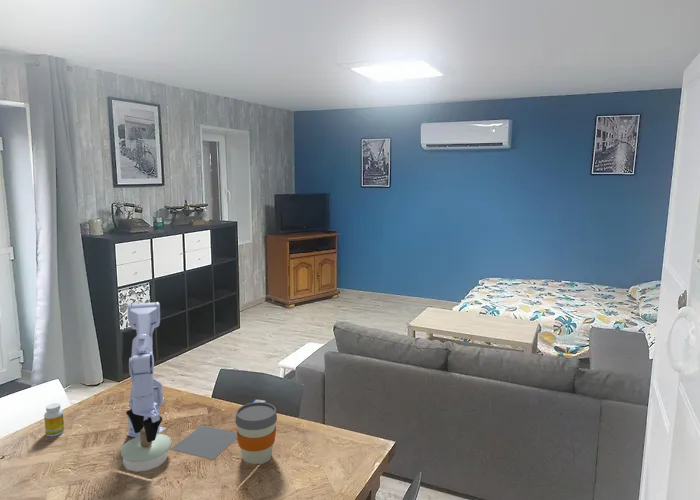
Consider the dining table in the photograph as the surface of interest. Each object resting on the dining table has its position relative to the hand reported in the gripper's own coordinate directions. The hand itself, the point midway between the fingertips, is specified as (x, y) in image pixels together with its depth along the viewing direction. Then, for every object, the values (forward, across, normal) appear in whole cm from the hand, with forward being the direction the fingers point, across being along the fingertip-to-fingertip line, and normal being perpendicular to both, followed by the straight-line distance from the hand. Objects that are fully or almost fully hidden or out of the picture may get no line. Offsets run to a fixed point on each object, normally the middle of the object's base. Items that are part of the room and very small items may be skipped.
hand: (144, 436), depth 142 cm
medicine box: (+8, -10, -34) cm, 37 cm away
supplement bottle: (+8, +38, +12) cm, 41 cm away
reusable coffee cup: (+8, -24, -23) cm, 34 cm away
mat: (+8, -5, -18) cm, 20 cm away
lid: (+4, 0, 0) cm, 4 cm away
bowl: (+8, 0, 0) cm, 8 cm away
